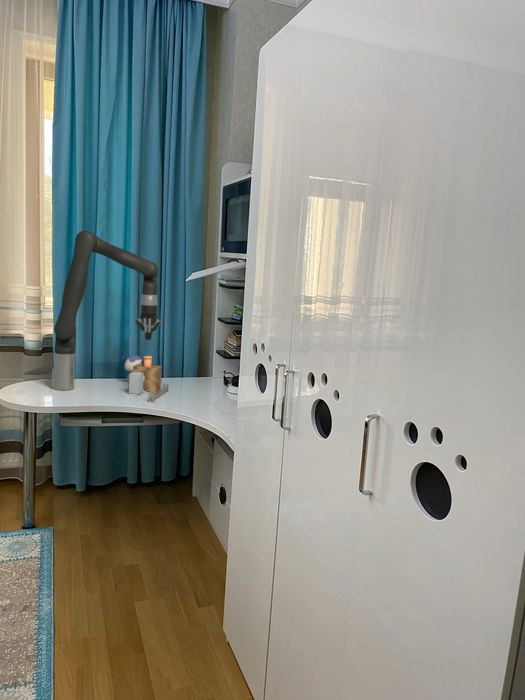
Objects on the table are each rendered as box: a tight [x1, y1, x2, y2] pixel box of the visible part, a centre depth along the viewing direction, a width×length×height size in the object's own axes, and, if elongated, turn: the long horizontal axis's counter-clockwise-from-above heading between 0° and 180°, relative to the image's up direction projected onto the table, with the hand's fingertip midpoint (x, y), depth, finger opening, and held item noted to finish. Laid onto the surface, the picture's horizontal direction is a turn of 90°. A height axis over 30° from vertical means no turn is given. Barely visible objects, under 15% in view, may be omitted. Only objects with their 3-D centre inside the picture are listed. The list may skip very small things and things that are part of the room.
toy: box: [122, 354, 144, 381], centre depth 300 cm, size 11×10×15 cm
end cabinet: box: [133, 364, 163, 393], centre depth 289 cm, size 12×8×12 cm, turn 81°
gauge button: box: [143, 355, 153, 368], centre depth 289 cm, size 4×4×8 cm
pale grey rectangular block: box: [128, 372, 144, 396], centre depth 281 cm, size 5×5×10 cm
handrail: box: [147, 383, 169, 403], centre depth 279 cm, size 2×22×4 cm, turn 171°
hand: (148, 339), depth 285 cm, fingers closed
